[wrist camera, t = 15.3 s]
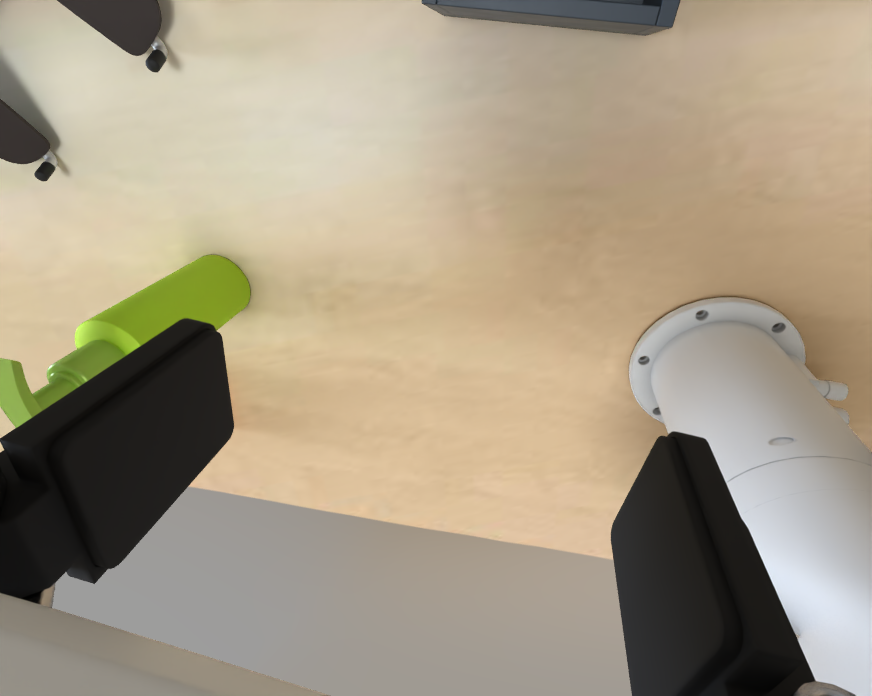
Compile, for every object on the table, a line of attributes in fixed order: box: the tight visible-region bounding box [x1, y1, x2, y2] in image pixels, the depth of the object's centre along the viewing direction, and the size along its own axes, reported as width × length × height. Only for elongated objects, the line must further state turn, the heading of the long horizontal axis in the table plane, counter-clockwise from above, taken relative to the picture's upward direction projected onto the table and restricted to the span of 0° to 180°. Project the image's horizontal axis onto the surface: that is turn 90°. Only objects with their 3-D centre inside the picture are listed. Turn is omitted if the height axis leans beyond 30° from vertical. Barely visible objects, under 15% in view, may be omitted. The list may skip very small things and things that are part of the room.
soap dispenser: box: [0, 255, 250, 428], centre depth 35 cm, size 6×7×20 cm
